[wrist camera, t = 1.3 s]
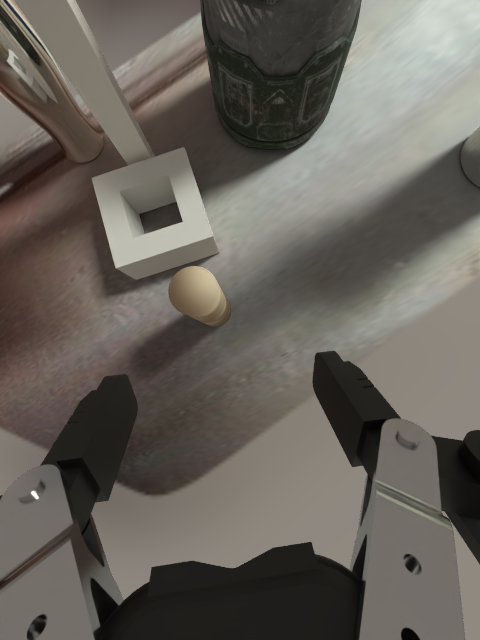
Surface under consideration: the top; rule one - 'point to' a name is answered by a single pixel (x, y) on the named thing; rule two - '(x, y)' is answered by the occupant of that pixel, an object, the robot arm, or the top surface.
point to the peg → (199, 296)
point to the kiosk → (126, 154)
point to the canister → (276, 64)
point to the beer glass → (42, 88)
